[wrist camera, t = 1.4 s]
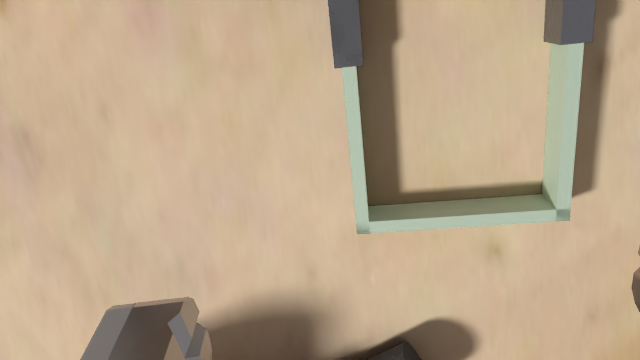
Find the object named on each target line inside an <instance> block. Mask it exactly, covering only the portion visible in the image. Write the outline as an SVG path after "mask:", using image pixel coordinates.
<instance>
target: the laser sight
mask: <svg viewBox="0 0 640 360" xmlns="http://www.w3.org/2000/svg"><path fill="white" fill-rule="evenodd" d="M368 360H421V359H420V357H419V356H418V354H417V353H416V351H415V350H414V349H413V347H412V346H411V345H410V344H409V343H407V342H403V343H401V344H399V345H397V346H395V347H393V348H391V349H389V350H387V351H385V352H383V353H381V354H378V355H376V356H374V357H371V358H370V359H368Z"/></svg>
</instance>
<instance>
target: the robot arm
mask: <svg viewBox="0 0 640 360" xmlns="http://www.w3.org/2000/svg"><path fill="white" fill-rule="evenodd" d="M638 254H639V255H640V247H639V251H638ZM632 292H633V296H634V301H635V304H636V306H637V308H638V310H639V312H640V267H639V268H638V269H637V270H636V271H635V272H634V275H633V282H632ZM198 315H199V310H198V308H197V306H196V303H195V301H194V299H192V298H189V297H184V298H175V299H166V300H157V301H148V302H139V303H135V304H125V305H116V306H112V307H111V308H110V309H108V310H107V311H106V312H105V314H104V316H103V318H102V320H101V322H100V323H99V325H98V327H97V329H96V331H95V333H94V335H93V337H92V338H91V340H90V342H89V344H88V346H87V348H86V350H85V352H84V354H83V355H82V357H81V359H80V360H212V347H211V341H210V337H209V334H208V332H207V329H206V328H205V327H203V326H202V325H200V324H199V323H197V318H198Z"/></svg>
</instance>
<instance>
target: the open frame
mask: <svg viewBox="0 0 640 360" xmlns="http://www.w3.org/2000/svg"><path fill="white" fill-rule="evenodd" d="M583 52H584V43H577V44H567V45H557V44H553V43H551V48H550V65H549V82H548V99H547V116H546V133H545V150H544V167H543V184H542V194H536V195H521V196H507V197H493V198H478V199H464V200H450V201H436V202H421V203H407V204H393V205H378V206H368V197H367V185H366V173H365V161H364V149H363V136H362V124H361V112H360V100H359V87H358V75H357V66H353V67H344V68H342V76H343V86H344V97H345V108H346V119H347V129H348V140H349V151H350V162H351V173H352V183H353V194H354V205H355V216H356V226H357V234H367V233H383V232H399V231H414V230H430V229H446V228H462V227H477V226H493V225H509V224H525V223H540V222H556V221H570V209H571V197H572V185H573V173H574V160H575V148H576V136H577V124H578V112H579V100H580V88H581V76H582V64H583Z"/></svg>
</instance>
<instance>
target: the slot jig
mask: <svg viewBox="0 0 640 360" xmlns="http://www.w3.org/2000/svg"><path fill="white" fill-rule="evenodd" d="M328 6H329V16H330V26H331V37H332V47H333V57H334V67H335V68H344V67H353V66H363V54H362V41H361V28H360V15H359V2H358V0H328ZM595 6H596V0H546V8H545V27H544V42H548V43H553V44H557V45H567V44H577V43H586V42H592V40H593V28H594V17H595Z"/></svg>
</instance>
